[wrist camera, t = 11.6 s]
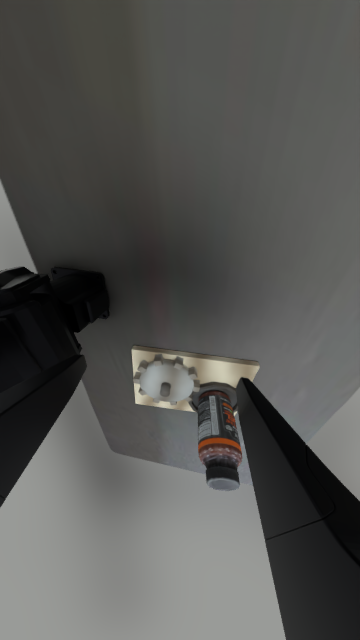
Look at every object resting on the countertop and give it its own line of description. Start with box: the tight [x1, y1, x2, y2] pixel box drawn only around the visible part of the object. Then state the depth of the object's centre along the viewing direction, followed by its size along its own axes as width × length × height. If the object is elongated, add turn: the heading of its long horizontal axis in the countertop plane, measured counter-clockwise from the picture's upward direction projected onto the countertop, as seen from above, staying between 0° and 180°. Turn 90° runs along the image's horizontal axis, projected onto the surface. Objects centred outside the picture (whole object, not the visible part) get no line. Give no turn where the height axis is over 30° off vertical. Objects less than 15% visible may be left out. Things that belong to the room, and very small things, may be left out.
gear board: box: [132, 345, 260, 416], centre depth 27 cm, size 20×14×4 cm
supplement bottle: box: [198, 391, 242, 491], centre depth 24 cm, size 6×6×11 cm
